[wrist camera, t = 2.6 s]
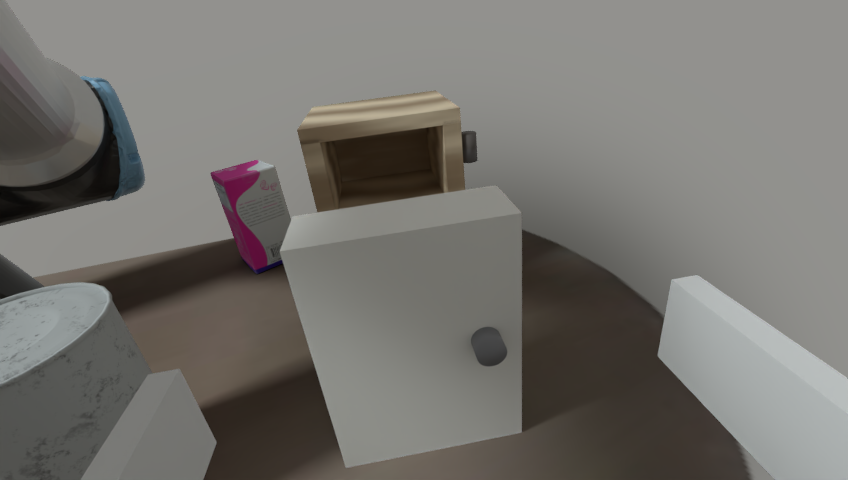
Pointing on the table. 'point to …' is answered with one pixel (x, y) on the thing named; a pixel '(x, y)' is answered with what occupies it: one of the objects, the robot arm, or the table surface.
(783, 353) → the robot arm
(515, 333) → the door
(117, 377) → the grey cylinder
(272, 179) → the supplement box
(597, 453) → the table surface
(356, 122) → the cabinet
